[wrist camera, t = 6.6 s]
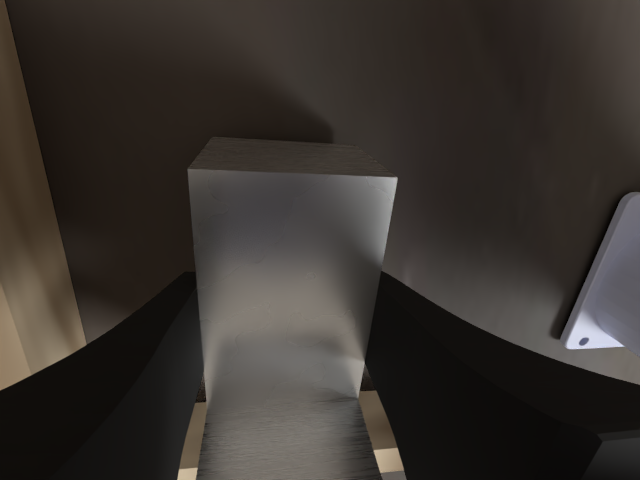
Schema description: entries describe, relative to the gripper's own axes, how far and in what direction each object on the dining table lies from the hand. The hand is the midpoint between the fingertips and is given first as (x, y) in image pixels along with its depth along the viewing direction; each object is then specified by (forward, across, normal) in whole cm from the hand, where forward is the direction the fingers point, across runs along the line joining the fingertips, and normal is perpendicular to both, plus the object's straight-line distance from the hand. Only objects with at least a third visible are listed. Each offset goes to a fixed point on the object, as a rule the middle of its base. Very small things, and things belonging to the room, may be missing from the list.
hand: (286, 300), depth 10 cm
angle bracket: (+3, 0, 0) cm, 3 cm away
